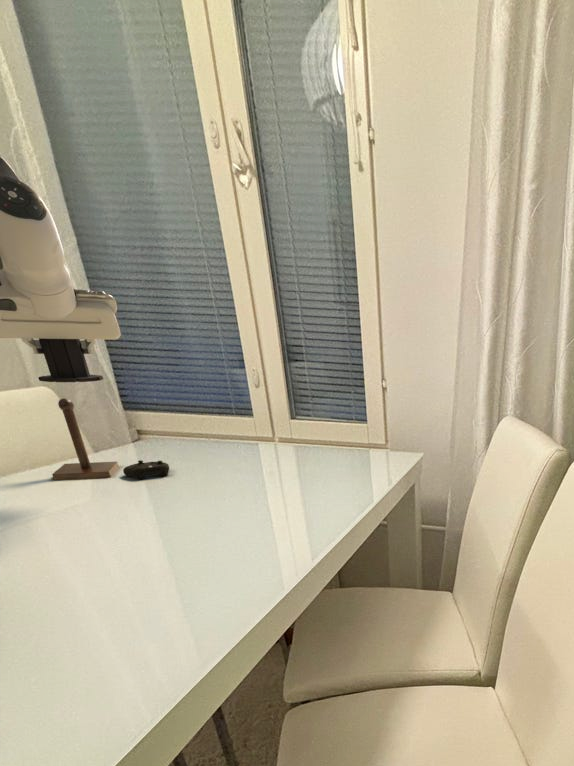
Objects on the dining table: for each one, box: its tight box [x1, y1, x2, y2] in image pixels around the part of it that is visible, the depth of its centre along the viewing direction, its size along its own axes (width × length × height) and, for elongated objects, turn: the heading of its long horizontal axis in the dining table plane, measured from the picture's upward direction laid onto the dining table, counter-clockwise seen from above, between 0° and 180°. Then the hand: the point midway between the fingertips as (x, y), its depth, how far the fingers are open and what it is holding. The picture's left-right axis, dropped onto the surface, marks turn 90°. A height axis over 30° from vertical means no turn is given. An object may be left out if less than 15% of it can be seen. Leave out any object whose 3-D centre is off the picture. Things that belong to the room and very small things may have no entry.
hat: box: [37, 339, 104, 383], centre depth 104 cm, size 10×10×9 cm
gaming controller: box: [122, 459, 170, 480], centre depth 128 cm, size 10×5×6 cm
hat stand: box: [51, 397, 120, 481], centre depth 124 cm, size 11×11×16 cm
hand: (63, 351), depth 104 cm, fingers closed on hat, 6 cm apart
